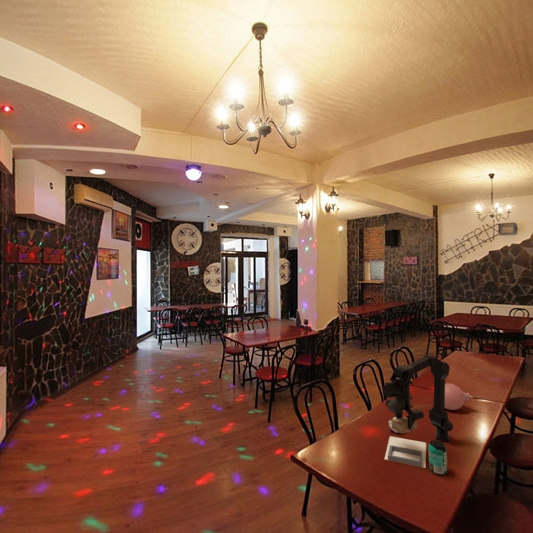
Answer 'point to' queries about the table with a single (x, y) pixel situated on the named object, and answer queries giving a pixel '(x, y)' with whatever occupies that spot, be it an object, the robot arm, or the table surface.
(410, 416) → the robot arm
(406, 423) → the card box
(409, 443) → the mat
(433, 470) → the beverage can
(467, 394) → the balloon
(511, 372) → the table surface
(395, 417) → the game die
